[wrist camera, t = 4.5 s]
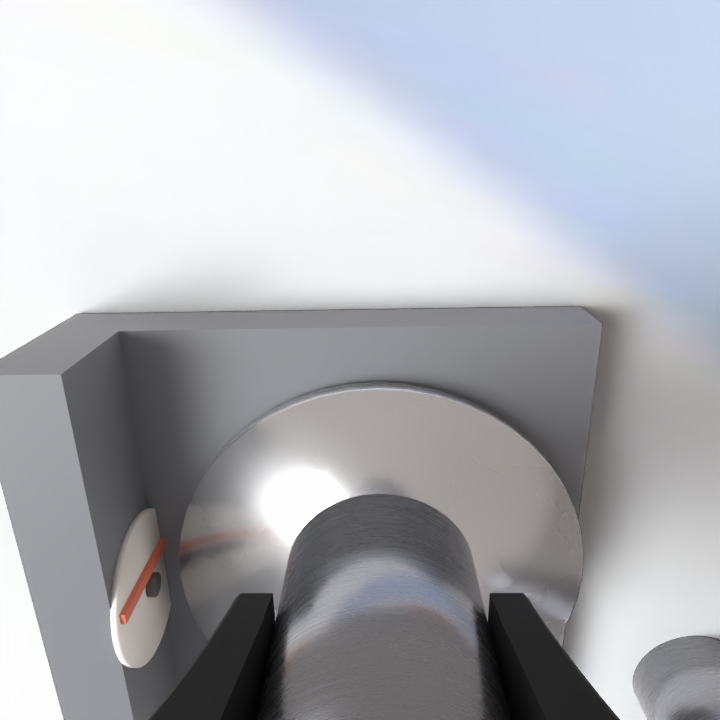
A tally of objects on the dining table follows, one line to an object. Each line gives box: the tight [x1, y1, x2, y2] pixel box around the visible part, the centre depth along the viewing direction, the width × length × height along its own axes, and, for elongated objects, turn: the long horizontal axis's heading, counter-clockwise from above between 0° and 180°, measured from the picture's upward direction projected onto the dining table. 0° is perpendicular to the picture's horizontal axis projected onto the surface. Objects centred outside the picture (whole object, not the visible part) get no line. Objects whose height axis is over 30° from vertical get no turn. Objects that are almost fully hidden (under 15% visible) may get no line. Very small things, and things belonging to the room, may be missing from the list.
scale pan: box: [179, 382, 583, 640], centre depth 18 cm, size 12×12×1 cm
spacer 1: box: [255, 494, 511, 720], centre depth 10 cm, size 4×4×5 cm
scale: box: [0, 306, 603, 720], centre depth 18 cm, size 15×15×5 cm
